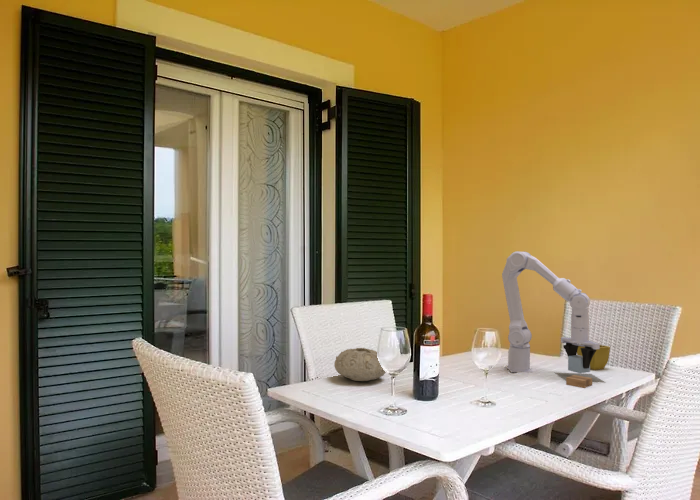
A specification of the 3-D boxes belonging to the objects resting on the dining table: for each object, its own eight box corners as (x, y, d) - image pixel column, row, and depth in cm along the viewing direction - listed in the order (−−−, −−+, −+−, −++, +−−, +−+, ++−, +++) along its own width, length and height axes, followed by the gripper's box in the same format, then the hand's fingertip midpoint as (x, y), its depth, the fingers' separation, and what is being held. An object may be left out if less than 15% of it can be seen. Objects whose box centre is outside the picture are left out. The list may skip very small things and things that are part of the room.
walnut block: (573, 383, 180) (574, 374, 180) (592, 387, 175) (592, 378, 175) (566, 386, 175) (566, 377, 175) (584, 390, 171) (584, 380, 171)
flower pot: (574, 367, 204) (575, 344, 204) (591, 365, 208) (591, 342, 208) (594, 372, 196) (594, 348, 196) (610, 370, 200) (611, 346, 200)
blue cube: (568, 370, 187) (568, 356, 187) (577, 369, 189) (578, 355, 189) (579, 373, 183) (580, 358, 183) (589, 371, 185) (590, 357, 185)
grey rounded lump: (397, 381, 178) (398, 351, 178) (356, 389, 167) (357, 357, 167) (363, 371, 192) (364, 343, 192) (323, 377, 181) (323, 348, 181)
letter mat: (554, 373, 193) (554, 372, 193) (591, 374, 192) (591, 373, 192) (566, 382, 180) (566, 381, 180) (605, 383, 179) (605, 382, 179)
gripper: (555, 325, 191) (554, 363, 191) (589, 331, 178) (589, 371, 178) (568, 324, 194) (568, 362, 194) (604, 330, 181) (603, 370, 181)
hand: (579, 366), depth 186 cm, fingers closed on blue cube, 5 cm apart
